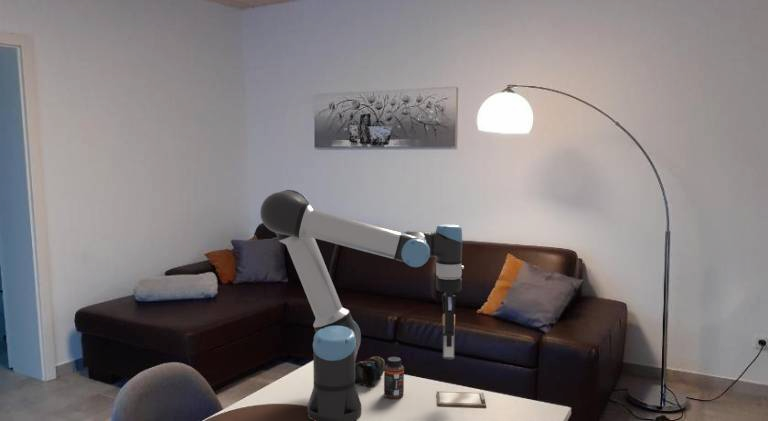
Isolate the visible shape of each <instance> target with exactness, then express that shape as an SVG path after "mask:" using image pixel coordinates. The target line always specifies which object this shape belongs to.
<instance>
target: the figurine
mask: <svg viewBox="0 0 768 421" xmlns="http://www.w3.org/2000/svg"><path fill="white" fill-rule="evenodd" d="M385 366H386V363H385V359H383V358H382V357H380V356H377V355H376V356H375V355H374V356H372V357H370V358H367V359H366V360H364V361H361V360H360V361H359V362H356V363H355V385H357V384H359V385H361V386H366V387H373V386H374V383H375V382H376V379H381V377H382V375H384V368H385Z"/></svg>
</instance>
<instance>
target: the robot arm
mask: <svg viewBox="0 0 768 421" xmlns="http://www.w3.org/2000/svg"><path fill="white" fill-rule="evenodd" d="M259 215H260V218H261V221H262V224H263V225H264V226H265V227H266V228H267V229H268V230H269V231H270V232H273V233H275V234H276V237H277V240H278V241H279V242H280V243H282V244H284V245H285V246H286V248H287V252H288V253H289V255H290V258H291V260H292V263H293V266H294V268H295V270H296V273H297V275H298V278H299V281H300V282H301V285H302V287H303V290H304V293H305V295H306V297H307V301H308V303H309V305H310V307H311V311H312V312H313V315H314V317H315V320H314V322H313V325H312V326H313V328H314V332H315V333H314V336H313V342H312V349H313V350H312V351H313V356H312V357H313V388H312V390H311V394H310V397H309V400H308V403H307V413H308V415H309V417H310V418H312V419H313V420H316V421H356V420H358V419H359V418H360V417H361V415H362V403H361V399H360V396H359V393H358V390H357V387H356V384H355V364H356V360H357V355H358V351H359V349H360V346H361V342H362V335H361V329H360V327H359V325H358V323H356V321H354V319H353V317H352V314H351V312H350V310H349V309H348V308H344V307H343V305H342V303H341V301H340V298H339V295H338V293H337V290H336V288H335V285H334V283H333V281H332V278H331V276H330V273H329V271H328V268H327V265H326V264H325V260H324V258H323V256H322V253H321V251H320V248H319V245H318V243H317V241H316V239H317V240H320V241H324V242H328V243H332V244H336V245H339V246H343V247H347V248H351V249H355V250H358V251H362V252H365V253H368V254H369V253H370V254H373V255H376V256H381V257H385V258H387V259H393V260H395V261H399V262H402V263H405V264H406V265H408V266H409V267H411V268H418V267H423V265H425V264H426V263H427V262H428V260H429V259H430V258H436V263H435V269H436V270H435V274H436V280H435V284H436V285H435V288H436V290H437V291H439V292H441V293H443V292H444V294H442V295H441V300H442V311H443V314H445V333H443V332H442V333H441V334H442V337H443V336H444V357H453V350H454V351H455V337H454V314H455V312H456V303H457V297H456V294H455V295H454V293H459V292H461V291H462V289H463V288H462V287H463V284H462V283H463V281H462V280H463V279H462V276H463V275H462V274H463V271H462V270H464V269H465V266H464V265H462V263H463V228H462V227H461V226H460V225H458V224H451V223H450V224H438V225H437V226H436V229H435V231H409V230H407V231H396V230H391V229H387V228H384V227H380V226H376V225H373V224H370V223H365V222H361V221H358V220H354V219H351V218H346V217H343V216H340V215H336V214H331V213H328V212H325V211H320V210H317V209H314V208H313V207H312V205H311V204H310V201H309V200H308V198H307V197H306V196H305V195H304V194H303V193H301V192H299V191H296V190H293V189H285V190H281V191H278V192H274V193H272V194H270V195H268V196H267V197H266V198H265V199H264V200H263V202H262V204H261V207H260V214H259ZM308 415H307V416H308ZM309 417H308V418H309Z"/></svg>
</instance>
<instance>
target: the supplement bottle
mask: <svg viewBox="0 0 768 421" xmlns="http://www.w3.org/2000/svg"><path fill="white" fill-rule="evenodd" d="M383 375H384V376H383V379H384V380H383V384H384V385H383V394H384V397H386V398H389V399H400V398H402V397H403V396H404V392H405V391H404V390H405V389H404V388H405V384H404V383H405V382H404V380H405V367H404V365H402V359H401V358H400V357H397V356H391V357H390V356H389V357H388V358H387V364H385V368H384V372H383Z"/></svg>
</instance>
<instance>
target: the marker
mask: <svg viewBox="0 0 768 421" xmlns="http://www.w3.org/2000/svg"><path fill="white" fill-rule="evenodd" d="M455 327H456V314H455V313H454V338H455V336H456V334H455V332H456V331H455V330H456V328H455ZM442 333H445V314H444V313H443V314H442ZM442 358H443V359H444V360H454V359H455V349H454V350H453V357H444V336H442Z"/></svg>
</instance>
